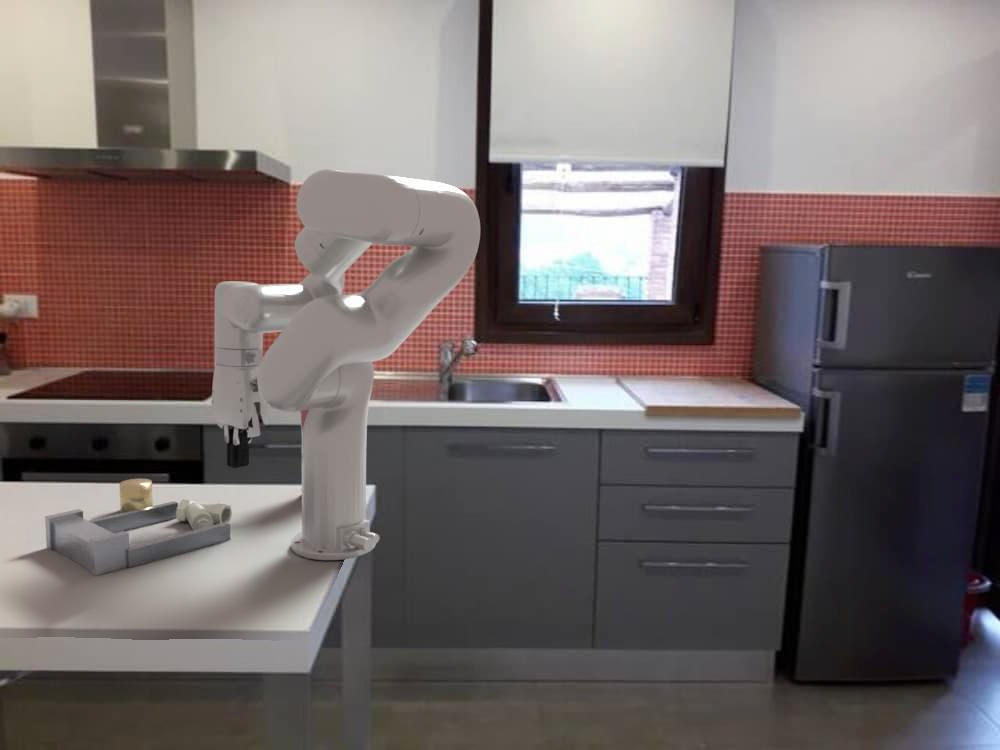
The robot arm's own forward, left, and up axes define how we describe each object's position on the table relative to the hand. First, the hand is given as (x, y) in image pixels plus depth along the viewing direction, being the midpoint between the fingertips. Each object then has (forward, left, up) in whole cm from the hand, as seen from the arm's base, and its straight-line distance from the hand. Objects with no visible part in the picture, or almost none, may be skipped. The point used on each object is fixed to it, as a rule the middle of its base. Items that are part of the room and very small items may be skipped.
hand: (237, 465), depth 136 cm
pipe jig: (-1, +18, -9) cm, 20 cm away
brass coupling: (+14, +10, -9) cm, 20 cm away
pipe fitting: (0, +7, -9) cm, 12 cm away
